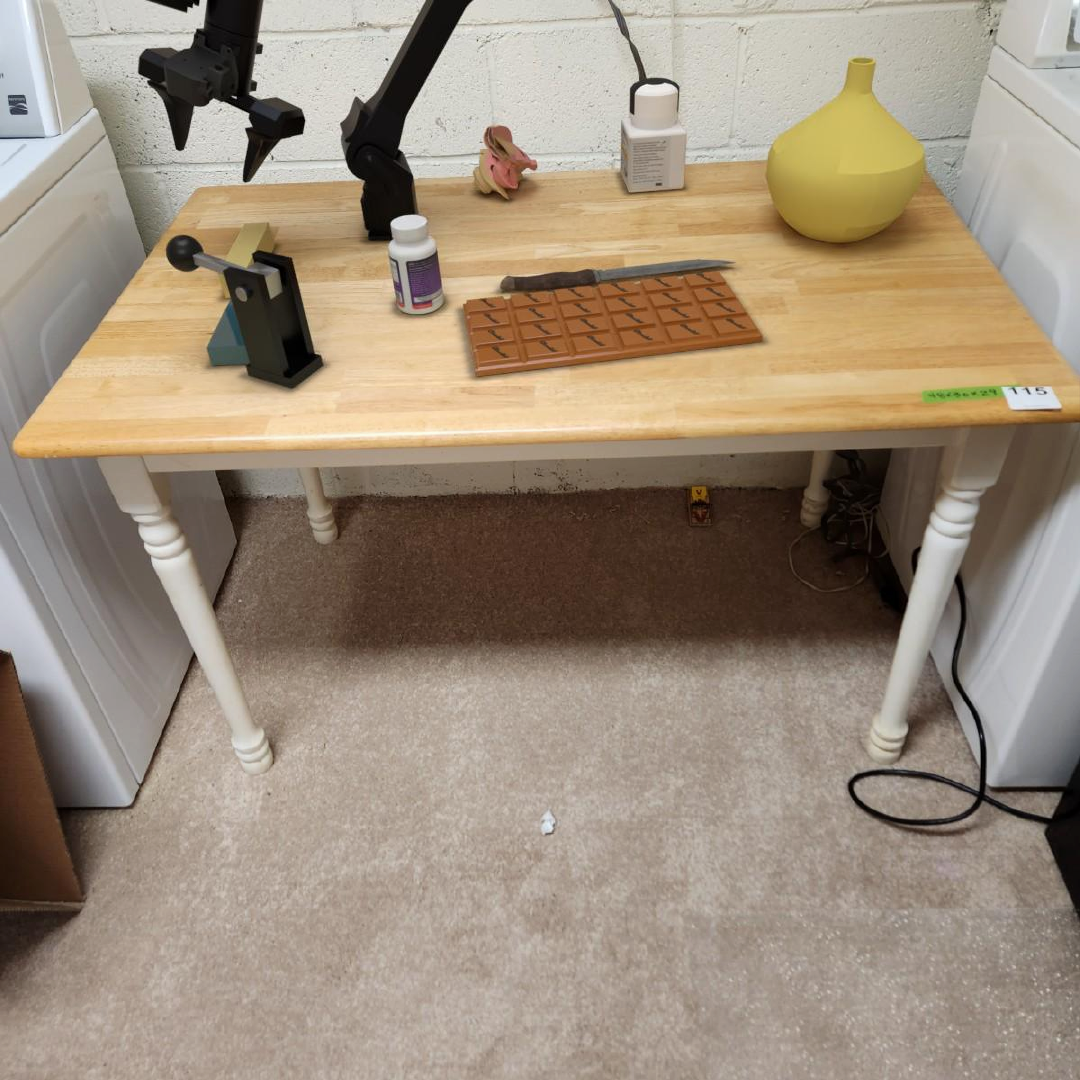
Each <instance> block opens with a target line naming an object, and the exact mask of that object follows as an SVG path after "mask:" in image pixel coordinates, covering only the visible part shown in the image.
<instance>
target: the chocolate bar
mask: <svg viewBox="0 0 1080 1080" xmlns="http://www.w3.org/2000/svg"><path fill="white" fill-rule="evenodd" d="M553 291H554V292H553V293H552V292H551V293H548V290H544V291H532V292H526V293H525V292H524V293H516V294H510V297H508V298H504V296H503V295H500V296H498V295H497V296H492V297H490V296H489V297H481V298H474V299H467V300H466V303H462V309H463V315H464V321H465V325H466V331H467V337H468V340H469V345H470V350H471V356H472V360H473V366H474V370H475V374H476V377H484V376H485V377H486V376H491V375H501V374H509V373H517V372H524V371H532V370H541V369H549V368H559V367H565V366H566V367H567V366H574V365H581V364H589V363H590V364H591V363H598V362H605V361H606V362H607V361H613V360H621V359H622V360H623V359H631V358H638V357H646V356H647V357H648V356H654V355H663V354H671V353H678V352H687V351H695V350H703V349H711V348H720V347H728V346H736V345H744V344H751V343H753V344H754V343H761V342H763V334H762V333H761V331H760V329H759V328H758V327H757V325H756V324H755V322H754V321H753V320H752V318H751V317H750V314H749V313H748V312H747V310H746V309H745V308H744V306H743V305H742V303H741V302H740V300H739V298H738V297H737V296H736V294H735V293H734V291H733V290H732V288H731V286H730V285H729V284H728V282H727V281H726V279H725V278H724V277H723V274H722V273H721V272H720V271H719V270H715V271H707V272H699V273H690V274H683V277H682V278H678V276H677V275H673V276H664V277H663V276H661V277H654V278H647V279H640V282H639V283H635V281H634V280H627V281H619V282H611V283H602V284H597V286H596V288H592V285H587V286H575V287H570V288H565V289H557V290H553Z"/></svg>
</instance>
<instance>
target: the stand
mask: <svg viewBox="0 0 1080 1080" xmlns="http://www.w3.org/2000/svg"><path fill="white" fill-rule="evenodd" d="M252 257H253V261H254V263H256V262H259V263H262V264H264V265H267V266H270V267H273V268H276V269H278V270H279V273H280V279H281V285H282V292H281V293H280V294H278V295H276V296H275V297H273V298H272V299H271V298H270V295H269V291H268V287H267V283H266V279H265V276H264V275H263V274H258V273H254V272H250V271H246V270H242V269H238V268H234V267H228V268H227V269H225V270H223V274H224V277H225V280H226V284H227V287H228V290H229V294H230V297H231V301H232V304H233V307H234V311H235V314H236V317H237V321H238V324H239V328H240V331H241V334H242V338H243V341H244V344H245V348H246V351H247V354H248V358H249V361H250V363H248V364H245V369H246V372H247V375H248V376H250V377H252V378H256V379H259V380H263V381H266V382H270V383H273V384H276V385H279V386H283V387H286V388H290V389H294V388H295V387H297V386H298V385H299V384H301V383H302V382H303V381H304V380H306V379H307V378H308V377H310V376H311V375H313V374H314V373H315V372H316V371H318V370H320V369H321V367H323V366H324V361H323V357H322V355H321V354H318V353H316V351H315V347H314V343H313V339H312V335H311V330H310V327H309V323H308V318H307V314H306V310H305V306H304V302H303V297H302V293H301V288H300V284H299V281H298V277H297V272H296V268H295V264H294V260H293V257H291V256H286V255H282V254H277V253H275V252H274V253H273V252H272V253H270V252H265V251H261V250H257V251H255V252H254V253H252Z"/></svg>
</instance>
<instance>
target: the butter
mask: <svg viewBox="0 0 1080 1080" xmlns="http://www.w3.org/2000/svg"><path fill="white" fill-rule="evenodd" d="M275 246H276V245H275V241H274V238H273V232H272V228H271V225H270V222H267V221H265V222H248V223H247V222H245V223H243V225H242V227H241V229H240V231H239V233H238V234H237V236H236V238H235V240H234V242H233V244H232V246H231V247H230V249H229V251H228V253H227V255H226V257H225V259H224V260H225V261H228V262H231V263H234V264H237V265H239V266H242V267H245V268H247V267H249V266H251V265H252V264H254V261H253V257H252V253H254V252H255V251H257V250H261V251H265V252H270V253H273V251H274V249H275ZM217 275H218V279H219V282H220V286H221V289H222V292H223V295H224V298H225V299H230V298H231V297H230V294H229V290H228V287H227V284H226V280H225V277H224V275H222V274H220V273H217Z"/></svg>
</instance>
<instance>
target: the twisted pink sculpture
mask: <svg viewBox="0 0 1080 1080" xmlns="http://www.w3.org/2000/svg"><path fill="white" fill-rule="evenodd" d="M482 140H483V144H484V146H485V148H480V149H479V154H480V155H479V156H478V166H475V167H474V170H473V171H472V176H473V180H472V182H471V185H472V187H473V188H474V189H476V190H477V191H479V190H480V191H481V192H483V193H484V194H485V195H486V194H490V193H491V192H493V191H494V192H496V193H499V194H500V195H501V196H502V197H503V198H505V199H507V200H510V199H509V196H508V195H507V193H506V191H505V189H504V188H506V189H515V190H516V189H518V187H519V181H521V180H524V179H525V177H524V175H523V172H524V171H525V170H527V169H529V170H531V171H534V172H536V171H537V169H538V167H539V166H538V162H537V159H531V158H530V157H529V156H528V154H527V153H526V152H525V151H523V150H522V149H521V148H520V147H519V146H517V145H516V144H515V143H514V142H513V141H514V140H513V135H512V131H511V130H510V129H509V127H507V126H505V125H500V124H493V125H489V126H487V127H486V129H485V131H484V132H483V137H482Z"/></svg>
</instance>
